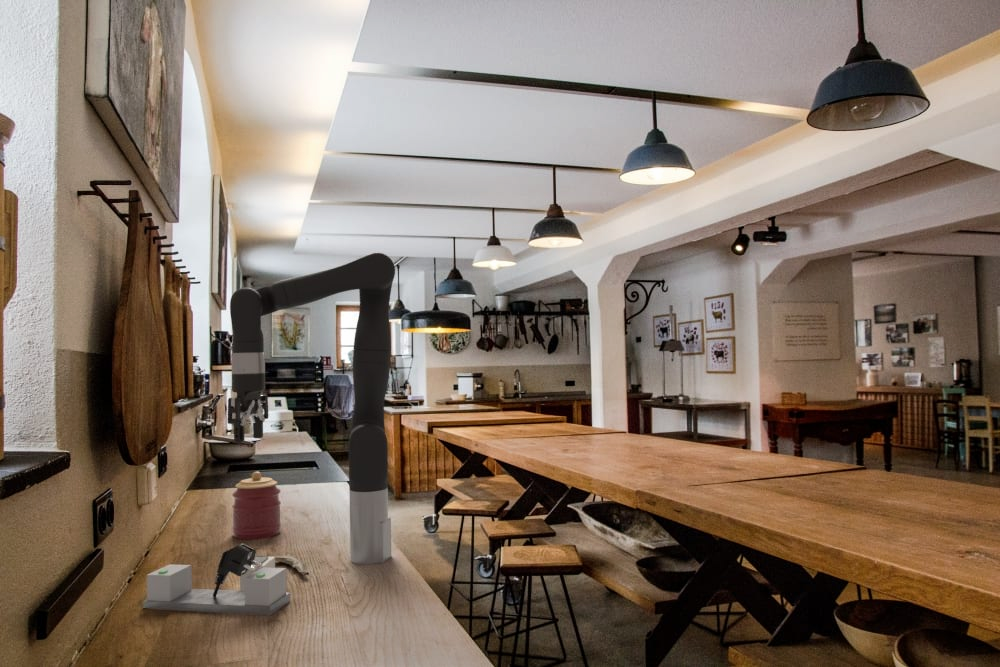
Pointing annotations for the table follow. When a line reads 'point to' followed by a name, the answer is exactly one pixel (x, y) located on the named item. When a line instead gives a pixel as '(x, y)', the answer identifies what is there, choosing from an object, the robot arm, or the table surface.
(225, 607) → the rail base
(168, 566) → the mounted modules
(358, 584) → the table surface
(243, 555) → the power plug
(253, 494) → the canister
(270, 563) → the block
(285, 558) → the jawbone
